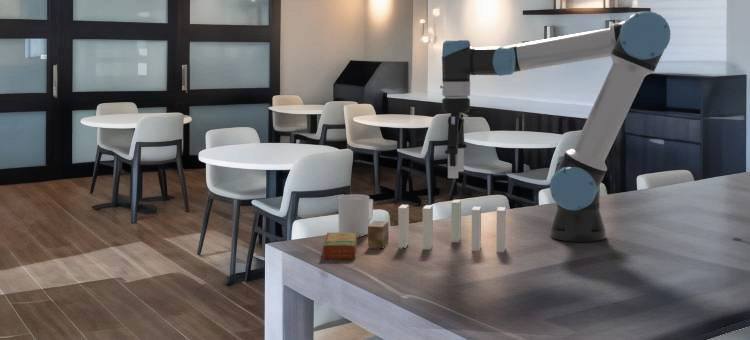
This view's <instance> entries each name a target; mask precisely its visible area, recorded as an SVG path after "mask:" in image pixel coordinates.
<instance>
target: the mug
mask: <svg viewBox="0 0 750 340" xmlns="http://www.w3.org/2000/svg"><path fill="white" fill-rule="evenodd" d="M337 200H338V201H337V202H338V204H337V205H338V208H337V209H338V233H340V232H344V233H345V232H346V233H357V236H361V235H366V234H367V235H368V226H369V225H370V224H371V223H370V222H371V220H372V219H373V216H374V199H372V198H370V196H369V195H367V194H358V193H357V194H356V193H355V194H343V195H340V196H338V198H337ZM367 235H366V236H367Z"/></svg>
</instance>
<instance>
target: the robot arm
mask: <svg viewBox="0 0 750 340" xmlns="http://www.w3.org/2000/svg"><path fill="white" fill-rule="evenodd" d="M670 40H671V29H670V25H669V23H668V21H667V20H666V19H665V18H664V17H663V16H662V15H660V14H658V13H657V12H654V11H651V10H641V11H638V12H635V13H633V14H631V15H630V16H629V17H628V18H627V19H626V20H623V21H620V22H614V23H612V24H610V26H609V27H608V28H601V29H597V30H596V29H595V30H591V31H584V32H578V33H574V34H572V33H571V34H568V35H563V36H556V37H549V38H546V39H545V38H544V39H540V40H539V39H538V40H534V41H527V42H523V43H522V42H521V43H517V44H511V45H505V46H504V45H503V46H502V45H500V46H482V47H481V46H479V47H475V46H471V42H470V40H468V39H451V40H449V39H448V40H445V41H443V43H442V51H441V52H442V53H441V54H442V55H441V67H442V69H441V70H442V73H441V74H442V76H441V77H442V79H441V80H442V84H440V87H439V89H442V94H441V95H442V96H443V98H442V100H441V102H442V103H441V104H442V106H441V107H442V108H441V111H442V112H444V113H450V116H448V119H447V125H448V127H447V142H446V143H447V146H446V150H445V151H444V153H445V155H447V179H459V173H460V172H465V156H464V155H465V149H467V144H466V143H465V133H464V132H465V127H464V124H465V118H464V113H468V112H470V109H471V99H470V98H469V96H471V76H510V75H513V74H514V73H517V72H521V71H526V70H527V71H528V70H533V69H534V70H535V69H540V68H546V67H547V68H548V67H552V66H559V65H564V64H571V63H577V62H583V61H589V60H590V61H591V60H596V59H601V58H609V57H610V58H611V60H612V65H611V66H610V69H609V71H608V74H607V75H606V77H605V80H604V81H603V83H602V86H601V89H600V90H599V93H598V94H597V97H596V99H595V101H594V104H593V106H592V108H591V110H590V112H589V114H588V116H587V118H586V120H585V123H584V126H583V127H582V130H581V132H580V134H579V136H578V138H577V140H576V142H575V144H574V147H573V148H570V149H567V150H565V152H564V155H559V157H558V158H557V163H556V167H557V170H556V171H555V173H554V174H553V175H552V177H551V179H550V183H549V191H550V194H551V198H552V200H553V201H554V202H555V203H556V211H555V213H554V216H553V219H552V222H551V225H550V230H549V235H550V238H553V239H556V240H559V241H564V242H565V241H566V242H576V243H577V242H578V243H585V242H586V243H589V242H598V241H603V240H604V239H605V238H606V228H605V224H604V222H603V218H602V214H601V212H600V208H601V207H600V198H601V183H602V182H603V179H604V177H605V175H606V173H607V171H608V167H607V165H606V160H607V157H608V155H609V152H610V151H611V149H612V146H613V144H614V142H615V141H616V138H617V136H618V134H619V132H620V130H621V127H622V126H623V124H624V121H625V119H626V117H627V116H628V113H629V111H630V109H631V107H632V104H633V103H634V101H635V98H636V96H637V94H638V92H639V91H640V88H641V86H642V83H643V81H644V79H645V78H646V76H648V75H651V74H653V73H655V70H656V69H657V66H658V64H659V63H660V60H661V58H662V56H663V54H664V51H665V50H666V49H667V48H668V45H669V44H670Z"/></svg>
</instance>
